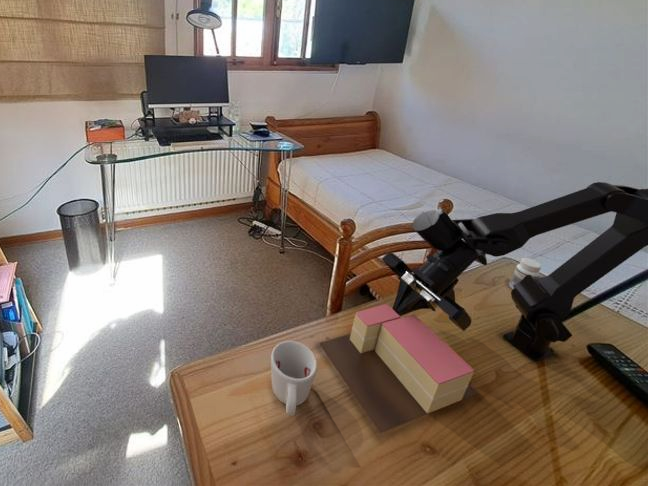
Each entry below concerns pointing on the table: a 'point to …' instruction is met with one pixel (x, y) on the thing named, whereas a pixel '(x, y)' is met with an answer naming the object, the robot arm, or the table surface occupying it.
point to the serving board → (375, 384)
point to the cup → (292, 373)
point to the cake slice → (370, 326)
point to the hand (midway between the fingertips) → (392, 316)
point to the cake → (423, 363)
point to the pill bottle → (525, 270)
